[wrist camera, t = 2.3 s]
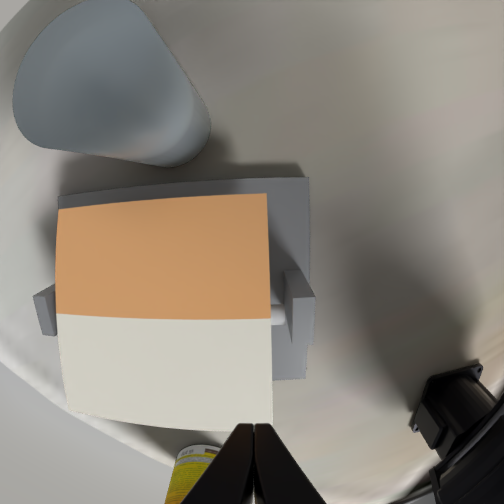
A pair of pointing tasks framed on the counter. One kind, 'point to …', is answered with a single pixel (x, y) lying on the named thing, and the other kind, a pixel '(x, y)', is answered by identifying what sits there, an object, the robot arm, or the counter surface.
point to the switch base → (280, 256)
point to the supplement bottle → (189, 470)
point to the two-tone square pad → (167, 311)
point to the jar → (109, 89)
